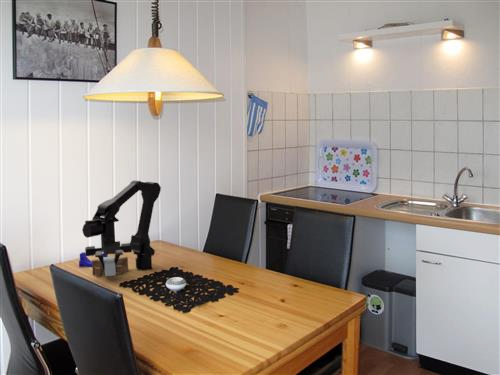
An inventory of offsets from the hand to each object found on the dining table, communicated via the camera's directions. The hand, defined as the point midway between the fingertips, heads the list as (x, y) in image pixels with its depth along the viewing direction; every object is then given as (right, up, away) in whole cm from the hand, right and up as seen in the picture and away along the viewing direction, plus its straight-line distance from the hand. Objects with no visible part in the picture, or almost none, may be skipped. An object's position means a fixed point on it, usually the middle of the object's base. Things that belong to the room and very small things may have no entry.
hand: (109, 269), depth 218 cm
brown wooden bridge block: (-1, -3, +7) cm, 8 cm away
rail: (0, -1, 0) cm, 1 cm away
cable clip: (-13, -2, +20) cm, 23 cm away
